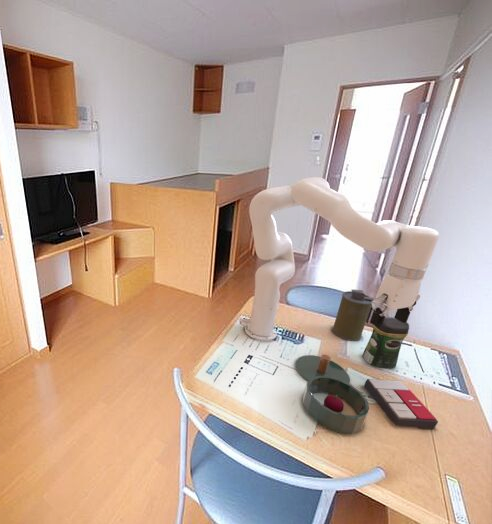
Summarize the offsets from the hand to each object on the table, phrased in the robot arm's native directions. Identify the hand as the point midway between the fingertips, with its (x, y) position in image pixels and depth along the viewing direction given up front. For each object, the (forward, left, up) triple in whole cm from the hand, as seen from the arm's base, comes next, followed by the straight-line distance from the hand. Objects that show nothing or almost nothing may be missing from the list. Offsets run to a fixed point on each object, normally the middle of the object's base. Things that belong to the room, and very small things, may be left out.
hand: (387, 322), depth 92 cm
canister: (-2, +32, -25) cm, 41 cm away
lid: (-13, 0, -24) cm, 27 cm away
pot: (-11, -17, -25) cm, 32 cm away
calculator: (+7, -6, -25) cm, 27 cm away
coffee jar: (+6, +16, -25) cm, 30 cm away
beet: (-11, -17, -24) cm, 31 cm away
